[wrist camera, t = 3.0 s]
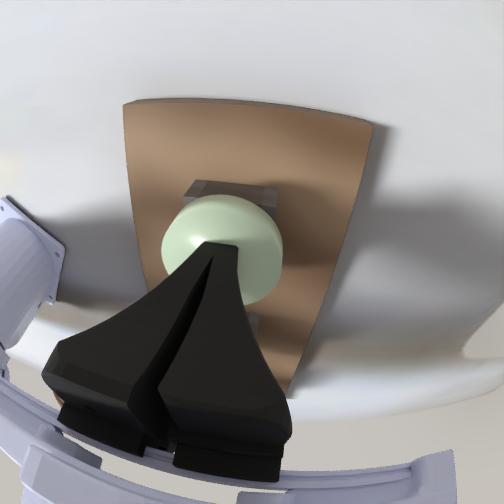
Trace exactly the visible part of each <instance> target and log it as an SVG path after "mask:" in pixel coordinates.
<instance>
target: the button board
mask: <svg viewBox="0 0 504 504" xmlns="http://www.w3.org/2000/svg"><path fill="white" fill-rule="evenodd" d="M123 124H124V139H125V151H126V162H127V172H128V180H129V188H130V196H131V203H132V210H133V217H134V223H135V229H136V235H137V240H138V246H139V251H140V256H141V261H142V266H143V271H144V276H145V280H146V285H147V289H148V293H149V292H150V291H151V290H153V289H154V288H155V287H156V286H157V285H159V284H160V283H161V282H162V281H163V280H164V279H166V278H167V277H168V276H169V274H168V272H167V270H166V269H165V266H164V263H163V260H162V253H161V248H162V242H163V238H164V236H165V234H166V232H167V230H168V229H169V227H170V225H171V224H172V222H173V221H174V219H175V218H176V216H177V215H178V213H179V212H180V211H181V210H182V209H183V208H184V207H185V206H186V205H187V204H189V203H190V202H192V201H194V200H196V199H198V198H201V197H204V196H209V195H230V196H236V197H239V198H243V199H245V200H247V201H250V202H252V203H253V204H255V205H257V206H259V207H260V208H261V209H262V210H264V211H265V212H266V213H267V214H268V215H269V216H270V217H271V218H272V220H273V221H274V222H275V224H276V226H277V227H278V229H279V232H280V234H281V238H282V243H283V254H282V270H281V275H280V279H279V281H278V283H277V285H276V286H275V288H274V289H273V290H272V291H271V292H270V293H269V294H268V295H267V296H265V297H264V298H262V299H261V300H259V301H257V302H254V303H251V304H248V305H244V308H245V311H246V315H247V318H248V321H249V324H250V326H251V329H252V332H253V334H254V337H255V339H256V341H257V343H258V346H259V348H260V350H261V352H262V354H263V357H264V359H265V361H266V363H267V364H268V366H269V368H270V370H271V372H272V374H273V375H274V377H275V379H276V380H277V382H278V384H279V385H280V387H281V389H282V390H283V392H284V393H286V391H287V389H288V387H289V384H290V382H291V380H292V378H293V375H294V373H295V371H296V368H297V366H298V364H299V361H300V359H301V356H302V354H303V352H304V349H305V347H306V344H307V342H308V339H309V337H310V334H311V332H312V329H313V327H314V324H315V321H316V319H317V316H318V313H319V311H320V308H321V305H322V303H323V300H324V297H325V294H326V292H327V289H328V286H329V283H330V280H331V277H332V274H333V271H334V268H335V265H336V262H337V259H338V256H339V253H340V250H341V247H342V244H343V241H344V237H345V234H346V231H347V228H348V224H349V221H350V217H351V214H352V211H353V207H354V203H355V200H356V196H357V193H358V189H359V185H360V181H361V177H362V174H363V170H364V166H365V161H366V157H367V153H368V149H369V144H370V140H371V136H372V131H373V126H372V125H371V124H369V123H368V122H367V121H366V120H363V119H359V118H355V117H350V116H346V115H341V114H336V113H331V112H326V111H320V110H314V109H308V108H302V107H295V106H288V105H281V104H272V103H263V102H253V101H241V100H225V99H198V98H170V99H143V100H136V101H133V102H130V103H127V104H124V105H123Z"/></svg>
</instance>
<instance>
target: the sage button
mask: <svg viewBox="0 0 504 504" xmlns="http://www.w3.org/2000/svg"><path fill="white" fill-rule="evenodd" d="M204 241H206V242H213V243H221V244H228V245H236V246H237V247H238V248H239V251H238V267H237V273H238V280H239V286H240V291H241V296H242V300H243V304H244V305H248V304H251V303H254V302H257V301H259V300H261V299H262V298H264V297H265V296H267V295H268V294H269V293H270V292H271V291H272V290H273V289H274V288H275V286H276V285H277V283H278V281H279V279H280V275H281V270H282V254H283V243H282V238H281V234H280V232H279V229H278V227H277V226H276V224H275V222H274V221H273V220H272V218H271V217H270V216H269V215H268V214H267V213H266V212H265V211H264V210H262V209H261V208H260V207H259V206H257V205H255V204H253V203H252V202H250V201H247V200H245V199H243V198H239V197H236V196H230V195H209V196H204V197H201V198H198V199H196V200H194V201H192V202H190V203H189V204H187V205H186V206H185V207H184V208H183V209H182V210H181V211H180V212H179V213H178V215H177V216H176V218H175V219H174V221H173V222H172V224H171V225H170V227H169V229H168V230H167V232H166V234H165V236H164V238H163V242H162V248H161V253H162V260H163V263H164V266H165V269H166V270H167V272H168V274H169V275H170V274H171V273H172V272H173V271H174V270H176V269H177V268H178V267H179V266H180V265H181V264H182V263H183V262H184V261H185V260H186V259H187V258H188V257H189V256H190V255H191V254H192V253H193V252H194V251H195V250H196V249H197V248H198V247H199V246H200V244H201V243H203V242H204Z"/></svg>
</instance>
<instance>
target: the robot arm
mask: <svg viewBox="0 0 504 504" xmlns="http://www.w3.org/2000/svg"><path fill="white" fill-rule="evenodd" d="M238 251H239V248H238V247H237V246H236V245H228V244H221V243H213V242H206V241H204V242H203V243H201V244H200V246H199V247H198V248H197V249H196V250H195V251H194V252H193V253H192V254H191V255H190V256H189V257H188V258H187V259H186V260H185V261H184V262H183V263H182V264H181V265H180V266H179V267H178V268H177V269H176V270H174V271H173V272H172V273H171V274H170V275H169V276H168V277H167V278H166V279H164V280H163V281H162V282H161V283H160V284H159V285H157V286H156V287H155V288H154V289H153V290H151V291H150V292H149V293H148V294H146V295H145V296H144V297H142V298H141V299H139V300H138V301H137V302H135V303H134V304H132V305H131V306H129V307H128V308H126V309H124V310H123V311H121V312H120V313H118V314H116V315H115V316H113V317H111V318H109V319H108V320H106V321H104V322H102V323H100V324H98V325H96V326H94V327H92V328H90V329H88V330H86V331H83V332H81V333H79V334H76V335H74V336H71V337H69V338H66V339H64V340H61V341H59V342H58V343H57V345H56V347H55V348H54V350H53V352H52V354H51V356H50V357H49V359H48V361H47V363H46V365H45V367H44V369H43V371H42V374H41V375H42V378H43V380H44V381H45V383H46V384H47V385H48V386H49V387H50V388H51V389H52V390H53V391H54V392H55V393H56V394H57V395H58V396H59V397H60V398H61V399H62V400H63V401H64V403H63V406H62V408H61V411H59V410H57V409H55V408H53V407H51V406H49V405H47V404H45V403H43V402H41V401H40V400H38V399H36V398H35V397H33V396H31V395H29V394H28V393H26V392H24V391H23V390H21V389H20V388H18V387H17V386H15V385H13V384H12V383H10V381H9V379H10V376H9V369H8V367H7V363H8V361H9V359H10V357H9V356H8V355H7V354H6V353H5V350H6V349H9V348H11V347H13V346H14V345H16V344H17V343H18V341H19V340H20V339H21V337H22V335H23V334H24V332H25V331H26V329H27V327H28V326H29V324H30V323H31V321H32V320H33V318H34V317H35V315H36V314H37V312H38V311H39V309H40V308H41V306H42V305H43V303H44V302H45V301H47V302H48V303H49V304H51V305H54V303H55V301H56V295H57V289H58V283H59V278H60V273H61V268H62V263H63V259H64V254H65V248H64V246H63V245H62V244H61V243H59V242H58V241H57V240H55V239H54V238H53V237H52V236H50V235H49V234H48V233H47V232H45V231H44V230H43V229H42V228H40V227H39V226H38V225H37V224H35V223H34V222H33V221H32V220H31V219H29V218H28V217H27V216H26V215H25V214H23V213H22V212H21V211H20V210H19V209H18V208H16V207H15V206H14V205H13V204H12V203H11V202H10V201H9V200H7V199H6V198H5V197H2V198H1V199H0V449H2V451H4V452H5V453H6V454H7V455H8V456H9V457H10V458H11V459H12V460H14V461H15V462H16V463H17V464H18V465H19V466H20V467H21V470H20V473H19V478H20V480H21V482H22V484H23V485H24V486H25V487H24V490H23V494H22V498H21V502H20V504H214V503H208V502H203V501H198V500H193V499H189V498H185V497H180V496H176V495H172V494H168V493H165V492H161V491H158V490H155V489H151V488H148V487H145V486H142V485H139V484H136V483H133V482H130V481H127V480H125V479H122V478H119V477H117V476H114V475H112V474H109V473H107V472H104V471H102V470H101V469H100V467H101V463H102V458H101V457H99V456H97V455H95V454H93V453H91V452H89V451H88V450H86V449H84V448H83V447H81V446H80V445H78V444H77V443H75V442H73V441H71V440H69V439H67V438H66V437H64V436H63V433H62V432H64V433H66V434H68V435H70V436H72V437H74V438H76V439H78V440H80V441H82V442H84V443H86V444H89V445H91V446H93V447H96V448H98V449H100V450H103V451H105V452H108V453H110V454H113V455H115V456H118V457H120V458H123V459H126V460H129V461H132V462H134V463H137V464H140V465H144V466H147V467H150V468H153V469H156V470H160V471H164V472H167V473H171V474H175V475H179V476H183V477H187V478H192V479H196V480H202V481H206V482H212V483H218V484H224V485H230V486H237V487H246V488H256V489H267V490H285V491H287V492H285V493H284V494H283V493H260V492H259V493H258V492H243V491H241V492H239V493H238V497H237V503H236V504H457V490H456V489H457V488H456V474H455V464H454V455H453V450H451V449H450V450H446V451H442V452H438V453H434V454H429V455H426V456H423V457H420V458H418V459H416V460H414V461H412V462H410V463H405V464H399V465H392V466H385V467H377V468H368V469H357V470H342V471H285V470H280V468H281V458H283V452H284V444H285V443H286V442H287V440H289V438H290V437H291V435H292V421H291V415H290V411H289V407H288V404H287V401H286V397H285V393H284V392H283V390H282V389H281V387H280V385H279V384H278V382H277V380H276V379H275V377H274V375H273V374H272V372H271V370H270V368H269V366H268V364H267V363H266V361H265V359H264V357H263V354H262V352H261V350H260V348H259V346H258V343H257V341H256V339H255V337H254V334H253V332H252V329H251V326H250V324H249V321H248V318H247V315H246V311H245V308H244V304H243V300H242V296H241V291H240V286H239V280H238V273H237V267H238ZM61 431H62V432H61ZM174 452H175V454H173V453H174Z"/></svg>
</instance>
